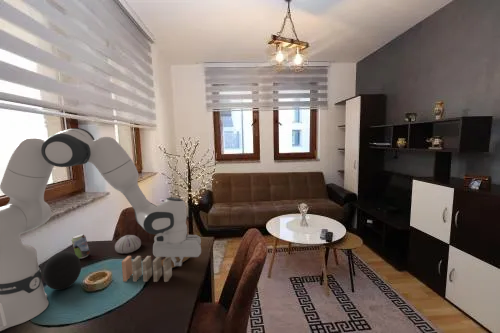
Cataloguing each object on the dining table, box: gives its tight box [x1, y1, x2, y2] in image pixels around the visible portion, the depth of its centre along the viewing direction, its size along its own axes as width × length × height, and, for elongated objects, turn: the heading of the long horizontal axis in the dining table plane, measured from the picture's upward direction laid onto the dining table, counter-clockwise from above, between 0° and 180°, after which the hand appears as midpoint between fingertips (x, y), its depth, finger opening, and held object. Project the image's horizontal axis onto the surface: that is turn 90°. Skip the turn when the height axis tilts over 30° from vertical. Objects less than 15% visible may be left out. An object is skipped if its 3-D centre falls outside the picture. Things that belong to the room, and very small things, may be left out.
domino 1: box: [121, 255, 133, 282], centre depth 106 cm, size 2×5×9 cm, turn 178°
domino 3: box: [141, 255, 153, 282], centre depth 106 cm, size 2×5×9 cm, turn 178°
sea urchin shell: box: [114, 234, 142, 255], centre depth 135 cm, size 13×14×8 cm
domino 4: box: [152, 257, 163, 283], centre depth 106 cm, size 2×5×9 cm, turn 178°
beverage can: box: [71, 233, 91, 260], centre depth 126 cm, size 6×7×12 cm
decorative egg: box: [42, 250, 82, 291], centre depth 100 cm, size 12×12×15 cm
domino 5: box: [162, 257, 173, 283], centre depth 105 cm, size 2×5×9 cm, turn 178°
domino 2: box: [132, 255, 143, 282], centre depth 106 cm, size 2×5×9 cm, turn 178°
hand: (178, 265), depth 105 cm, fingers closed
